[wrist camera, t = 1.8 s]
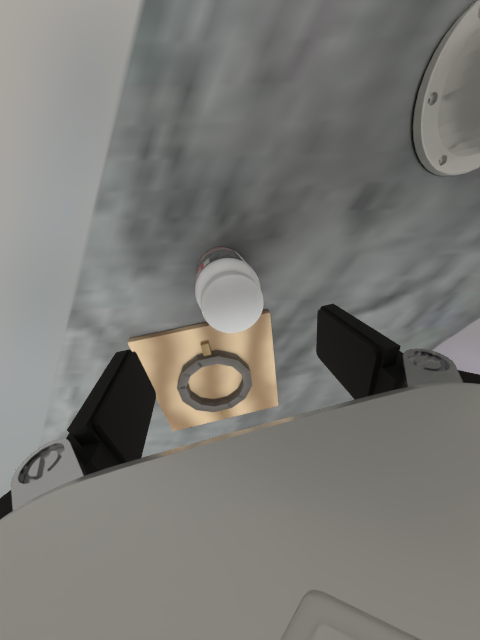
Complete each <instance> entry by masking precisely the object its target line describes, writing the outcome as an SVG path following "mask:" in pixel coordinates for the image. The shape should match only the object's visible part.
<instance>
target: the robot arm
mask: <svg viewBox="0 0 480 640" xmlns="http://www.w3.org/2000/svg"><path fill="white" fill-rule="evenodd" d="M413 136H414V144H415V149H416V153H417V155H418V157H419V159H420V161H421V163H422V164H423V165H424V167H425V168H426V169H427V170H428V171H430V172H432V173H433V174H436V175H440V176H454V175H460V174H465V173H468V172H470V171H473V170H475V169H477V168H479V167H480V0H477V1H476V2H474V3H473V4H472V5H471V6H470V7H469V8H468V9H467V10H466V11H465V12H464V13H463V14H462V15H461V16H460V17H459V18H458V19H457V20H456V22H455V23H454V24H453V26H452V27H451V28H450V29H449V31H448V32H447V33H446V35H445V36H444V38H443V40H442V41H441V43H440V44H439V46H438V48H437V49H436V51H435V53H434V55H433V57H432V59H431V61H430V63H429V65H428V68H427V70H426V72H425V75H424V77H423V80H422V83H421V86H420V89H419V92H418V97H417V101H416V106H415V111H414V121H413ZM399 350H400V345H398V344H396V343H395V342H393V341H392V340H390V339H389V338H387V337H385V336H384V335H382V334H381V333H379V332H377V331H376V330H374V329H373V328H371V327H370V326H368V325H366V324H365V323H363V322H362V321H360V320H358V319H357V318H355V317H354V316H352V315H351V314H349V313H347V312H346V311H344V310H343V309H341V308H339V307H338V306H336V305H335V304H330V305H325V306H322V307H321V308H320V310H318V317H317V347H316V352H317V355H318V357H319V359H320V360H321V361H322V362H323V363H324V364H325V366H326V367H327V368H328V369H329V370H330V371H331V372H332V374H333V375H334V376H335V377H336V378H337V379H338V381H339V382H340V383H341V384H342V385H343V386H344V388H345V389H346V390H347V391H348V392H349V393H350V395H351V396H352V397H353V398H354V399H355V400H352V401H348V402H344V403H341V404H337V405H333V406H329V407H326V408H322V409H318V410H314V411H311V412H307V413H303V414H299V415H296V416H292V417H288V418H284V419H281V420H277V421H273V422H270V423H266V424H262V425H259V426H255V427H251V428H248V429H244V430H240V431H237V432H233V433H229V434H226V435H222V436H218V437H215V438H211V439H208V440H204V441H200V442H197V443H193V444H190V445H186V446H182V447H179V448H175V449H172V450H168V451H164V452H161V453H157V454H154V455H150V456H147V457H143V458H141V457H142V452H143V448H144V444H145V440H146V436H147V432H148V428H149V424H150V420H151V416H152V412H153V408H154V404H155V400H156V392H155V389H154V387H153V385H152V383H151V381H150V379H149V377H148V375H147V373H146V371H145V369H144V367H143V365H142V363H141V361H140V359H139V357H138V355H137V353H136V352H132V351H131V350H125V351H120V352H116V353H115V355H114V356H113V358H112V360H111V361H110V363H109V364H108V366H107V367H106V369H105V371H104V372H103V374H102V375H101V377H100V379H99V380H98V382H97V383H96V385H95V387H94V388H93V390H92V391H91V393H90V394H89V396H88V398H87V399H86V401H85V402H84V404H83V406H82V407H81V409H80V410H79V412H78V414H77V415H76V417H75V418H74V420H73V421H72V423H71V425H70V426H69V428H68V429H67V431H68V432H69V435H68V436H67V438H66V439H57V440H54V441H51V442H49V443H47V444H45V445H43V446H42V447H40V448H38V449H37V450H36V451H35V452H33V453H32V454H31V455H30V456H29V457H28V458H26V459H25V461H23V462H22V464H21V465H20V466H19V467H18V469H17V470H16V472H15V473H14V475H13V477H12V481H11V491H9V492H8V493H7V494H5V495H4V496H3V497H1V498H0V640H480V375H478V374H473V373H469V372H464V371H459V370H457V368H456V365H455V364H454V363H453V361H452V360H450V359H449V358H448V357H446V356H444V355H442V354H440V353H437V352H434V351H431V350H426V349H410V350H407V351H405V352H404V353H402V352H400V351H399Z"/></svg>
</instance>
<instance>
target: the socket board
mask: <svg viewBox="0 0 480 640" xmlns="http://www.w3.org/2000/svg"><path fill="white" fill-rule="evenodd" d="M128 345H129V347H130V349H131V351H132V352H136V353H137V355H138V357H139V359H140V361H141V363H142V365H143V367H144V369H145V371H146V373H147V375H148V377H149V379H150V381H151V383H152V385H153V387H154V389H155V392H156V399H157V401H158V403H159V405H160V407H161V409H162V411H163V413H164V415H165V416H166V418H167V420H168V422H169V424H170V426H171V428H172V430H173V431H176V430H180V429H184V428H189V427H193V426H197V425H201V424H205V423H209V422H213V421H217V420H221V419H226V418H230V417H234V416H238V415H242V414H246V413H250V412H254V411H258V410H263V409H267V408H271V407H275V406H278V397H277V386H276V374H275V363H274V352H273V341H272V329H271V318H270V312H269V310H263V311H262V313H261V315H260V317H259V319H258V320H257V321H256V322H255V324H253V325H252V326H251V327H250V328H248V329H246V330H244V331H241V332H237V333H225V332H221V331H218V330H216V329H214V328H213V327H211V326H210V325H209V324H208V323H207V322H206V323H201V324H196V325H191V326H187V327H182V328H177V329H172V330H167V331H163V332H158V333H153V334H148V335H144V336H139V337H134V338H130V339H129V341H128Z"/></svg>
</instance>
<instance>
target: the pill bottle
mask: <svg viewBox="0 0 480 640" xmlns="http://www.w3.org/2000/svg"><path fill="white" fill-rule="evenodd" d="M195 296H196V300H197V303H198V305H199V307H200V308H201V310H202V314H203V317H204V318H205V320H206V321H207V323H208V324H209V325H210V326H211V327H213V328H214V329H216V330H218V331H221V332H225V333H237V332H241V331H244V330H246V329H248V328H250V327H251V326H252V325H253V324H255V322H256V321H257V320H258V319H259V317H260V315H261V313H262V310H263V303H264V301H263V295H262V292H261V290H260V282H259V279H258V277H257V275H256V273H255V271H254V270H253V269H252V267H251V266H250V265H249V264H248V263H247V262H246V261H245V260H244V259H243V258H242V257H241V255H240V254H238V253H237V252H236V251H234V250H232V249H230V248H226V247H217V248H213V249H211V250H209V251H207V252H206V253H205V254H204V255H203V256H202V257H201V259H200V261H199V263H198V265H197V272H196V282H195Z"/></svg>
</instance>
